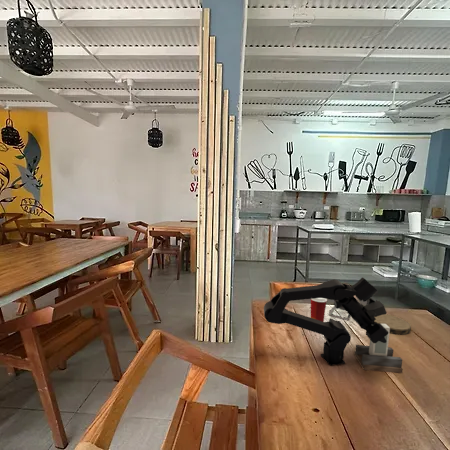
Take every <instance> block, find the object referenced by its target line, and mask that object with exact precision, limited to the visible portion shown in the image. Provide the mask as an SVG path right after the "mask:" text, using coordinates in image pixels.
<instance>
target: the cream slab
mask: <svg viewBox="0 0 450 450" xmlns="http://www.w3.org/2000/svg"><path fill="white" fill-rule="evenodd" d="M381 325H382V326H383V327H384V328H385V329H386V330H387V331H388V335H386V336H385V339H386V341H387V342H386V343H383V342H380V341H378V342H377V343H373V342H372V341H371V340H370V339H369V345H368V346H369V354H370V355H378V356H387V351H388V347H389V341H390V333H389V332H390V327H389V326H387V325H386V324H381Z"/></svg>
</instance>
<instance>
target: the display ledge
mask: <svg viewBox="0 0 450 450" xmlns="http://www.w3.org/2000/svg"><path fill="white" fill-rule="evenodd" d="M353 354H354V357H355V358H356V360H357V361H358V363H359V365H360V366H361V368H362V369H363V370H366V371H374V372H375V371H376V372H387V373H398V374H399V373H400V374H403V359H402V358H401V357H400V356H394V349H393V347H389V346H388V351H387V356H378V355H370V354H369V345H365V344H364V345H363V344H362V345H361V344H356V345H355V350H354V353H353Z"/></svg>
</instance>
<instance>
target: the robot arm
mask: <svg viewBox="0 0 450 450" xmlns="http://www.w3.org/2000/svg"><path fill="white" fill-rule="evenodd" d="M377 293H378V290H377V288H375V286H373V284H371V283H369V281H368V280H367V279H365V277H361V278H360V279H359V280H358V281H357V282H356V283H355V284H353V285H352V286H351V285H350V284H347V283H344V282H341V281H340V280H338V279H331V280H330V279H329V280H326V281H324V282H321V283H320V284H317V285H310V286H309V285H307V286H301V287H300V286H298V287H291V288H290V287H289V288H288V287H287V288H286V287H283V288H282V289H280V291H279V292H278V293H277V294H275V295H274V296H273V297H272V298H271V300H270V301H268V302H266V303H264V305H263V314H264V319H265V321H266V322H268V323H269V324H276V325H281V324H288V325H291V326H294V327H298V328H300V329H304V330H306V331H310V332H314V333H316V334H319V335H323V337H324V339H325V342H323V349H322V350H323V352H322V353H320V357H321V358H322V359H323V360H324V361H325V362H326V363H327V364H328V365H329V366H337V365H343V364H346V360H344V355H345V353H344V352H345V349H346V347H347V345H348V344H349V343H350V342H351V339H352V335H351V333H350V332H349V331H348V329H347V328H346V327H345V324H343V323H342V322H341V321H340V320H335V319H333V318H332V317H331V318H329V319H328V321H324V322H322V321H319V320H316V319H313V318H311V316H310V317H309V316H306V315H303V314H300V313H297V312H293V311H291V310H288V309H287V305H288V303H289V302H291V301H292V302H293V301H301V300H311V299H314V298H325V299H327V300H331V301H334V302H333V307H334V306H335V307H336V309H335V310H338V309H339V308H340V307H341V306H342V307H343V308H344V310H343V311H345V312H346V313H347V315H350V317H351V319H352V320H353V321H354V322H355V323H357V325H358V326H359V328H361V329H362V330H365V335H366V336H367V338H368V339H369V341H370V340H371V341H372V342H373V343H377V342H378V341H380V342H383V343H386V342H387V341H386V339H385V336H386V335H388V331H387V330H386V329H385V328H384V327H383V326H382V325H381V324H380V323H377V322H374V321H375V320H376V318H375V317H377V316H380V315H385V314H388V313H387V309H386V307H385V305H384V304H383V302H381V301H380V300H377V299H375V300H374V299H373V298H372V297H373V296H374V295H376V294H377ZM359 301H360V302H362V301H363V302H366V303H365V305H363V304H362V303H360V302H359ZM339 310H340V309H339Z"/></svg>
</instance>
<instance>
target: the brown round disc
mask: <svg viewBox="0 0 450 450" xmlns="http://www.w3.org/2000/svg"><path fill="white" fill-rule="evenodd" d="M375 318H376V320H375V321H374V322H377V323H380V324H386V325H387V326H389V327H390V332H389V335H390V334H391V335H397V336H407V335H409V334H410V332H411V330H412V325H411V323H410V322H409V321H408V320H406V319H405V318H402V317H399V316H396V315H393V314H389V313H387V314H385V315H380V316H377V317H375Z"/></svg>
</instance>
